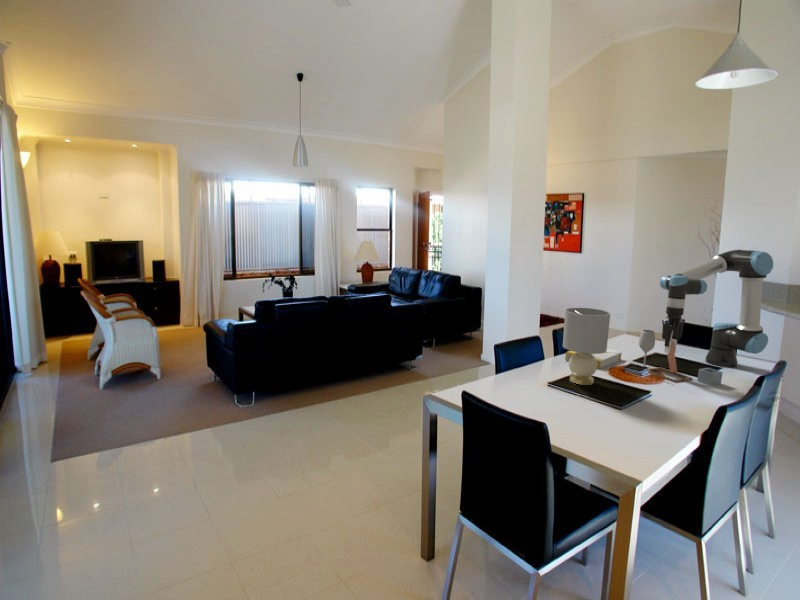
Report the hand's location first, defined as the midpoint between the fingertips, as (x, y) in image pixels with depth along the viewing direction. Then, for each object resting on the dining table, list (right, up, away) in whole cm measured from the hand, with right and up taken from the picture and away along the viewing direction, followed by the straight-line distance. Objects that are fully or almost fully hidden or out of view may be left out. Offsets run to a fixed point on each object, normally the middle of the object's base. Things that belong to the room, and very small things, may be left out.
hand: (669, 352), depth 245 cm
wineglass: (-5, -11, +16) cm, 20 cm away
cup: (+15, -15, -8) cm, 23 cm away
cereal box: (-26, -8, +31) cm, 42 cm away
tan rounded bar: (0, -10, +1) cm, 10 cm away
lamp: (-47, -14, -7) cm, 50 cm away
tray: (0, -13, +2) cm, 13 cm away
